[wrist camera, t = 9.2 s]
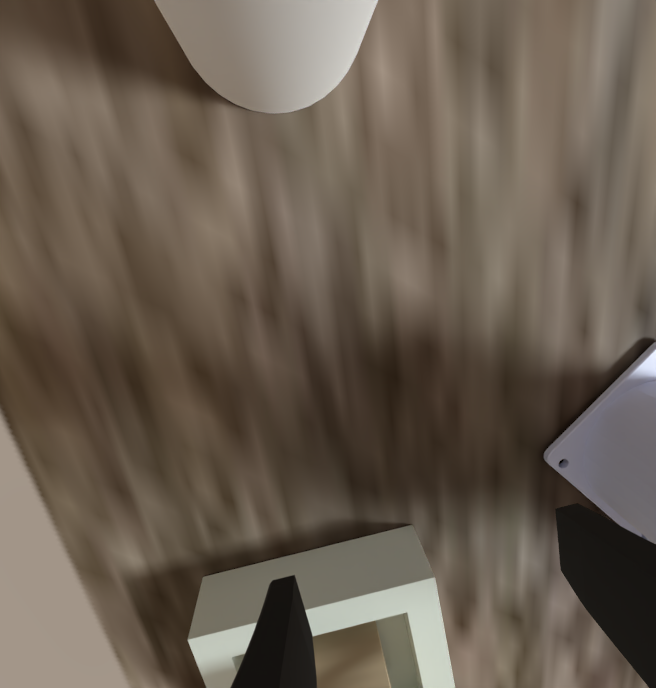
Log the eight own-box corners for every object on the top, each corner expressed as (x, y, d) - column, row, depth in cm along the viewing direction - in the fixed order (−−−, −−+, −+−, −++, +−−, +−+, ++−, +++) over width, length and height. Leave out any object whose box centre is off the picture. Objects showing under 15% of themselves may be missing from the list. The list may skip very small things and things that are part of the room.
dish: (412, 524, 22) (434, 577, 19) (442, 680, 25) (466, 750, 22) (203, 577, 22) (187, 639, 19) (258, 728, 25) (253, 807, 21)
